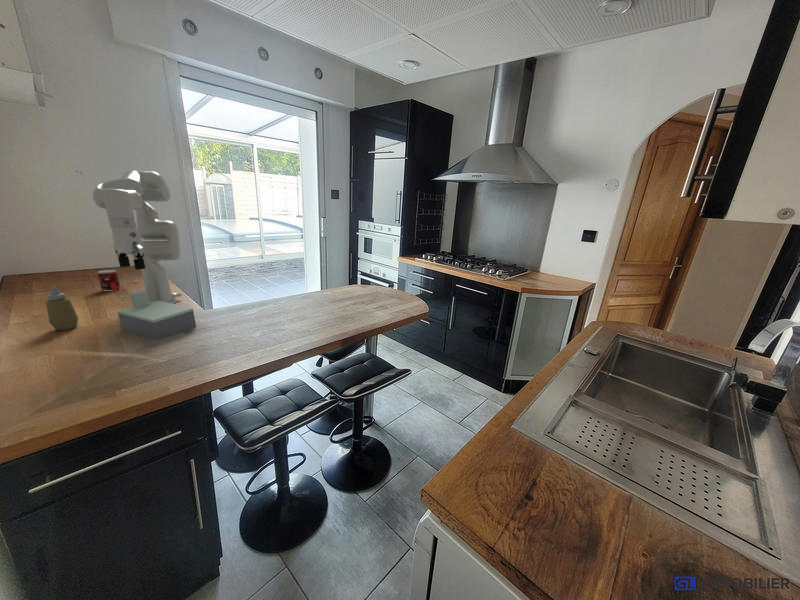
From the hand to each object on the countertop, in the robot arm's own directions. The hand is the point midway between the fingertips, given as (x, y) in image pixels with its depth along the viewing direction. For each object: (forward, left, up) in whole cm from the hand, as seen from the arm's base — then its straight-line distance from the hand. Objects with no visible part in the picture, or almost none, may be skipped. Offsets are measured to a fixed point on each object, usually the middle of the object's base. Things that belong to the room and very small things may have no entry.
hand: (132, 267), depth 122 cm
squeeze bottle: (+15, -25, -25) cm, 39 cm away
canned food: (-24, -74, -25) cm, 82 cm away
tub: (0, +9, -25) cm, 27 cm away
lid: (0, +9, -18) cm, 20 cm away
